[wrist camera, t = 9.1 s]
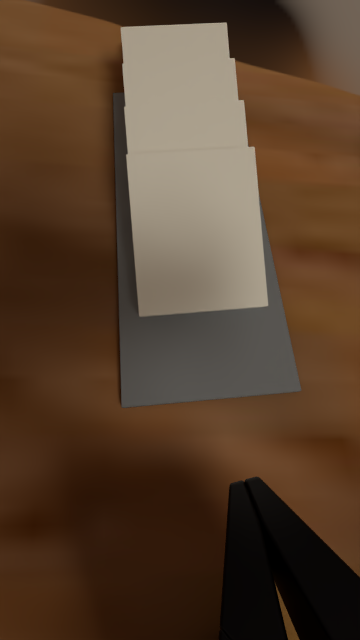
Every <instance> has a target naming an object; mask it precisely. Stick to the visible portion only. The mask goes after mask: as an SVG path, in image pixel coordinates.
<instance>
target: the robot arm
mask: <svg viewBox="0 0 360 640" xmlns="http://www.w3.org/2000/svg"><path fill="white" fill-rule="evenodd" d="M274 581H275V582H274ZM275 584H276V586H277V588H278V591H279V593H280V595H281V598H282V600H283V602H284V604H285V607H286V609H287V611H288V614H289V616H290V618H291V621H292V623H293V625H294V628H295V630H296V632H297V635H298V637H299V639H300V640H360V577H359V576H358V575H357V574H356V573H355V572H354V571H353V570H352V569H351V568H350V567H349V566H348V565H347V564H346V563H345V562H344V561H343V560H342V559H341V558H340V557H339V556H338V555H337V554H336V553H335V552H334V551H333V550H332V549H331V548H330V547H329V546H328V545H327V544H326V543H325V542H324V541H323V540H322V539H321V538H320V537H319V536H318V535H317V534H316V533H315V532H314V531H313V530H312V529H311V528H310V527H309V526H308V525H307V524H306V523H305V522H304V521H303V520H302V519H301V518H300V517H299V516H298V515H297V514H296V513H295V512H294V511H293V510H292V509H291V508H290V507H289V506H288V505H287V504H286V503H285V502H284V501H283V500H282V499H281V498H279V497H278V496H277V495H276V494H275V493H274V492H273V491H272V490H271V489H270V488H269V487H268V486H267V485H266V484H265V483H264V482H263V481H262V480H261V479H260V478H259V477H253V478H249V479H246V480H245V482H244V481H238V482H234V483H231V484H230V486H229V499H228V514H227V529H226V543H225V558H224V572H223V587H222V602H221V616H220V629H221V630H220V631H219V640H288V638H287V634H286V630H285V625H284V621H283V617H282V612H281V608H280V604H279V599H278V595H277V591H276V586H275Z"/></svg>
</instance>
